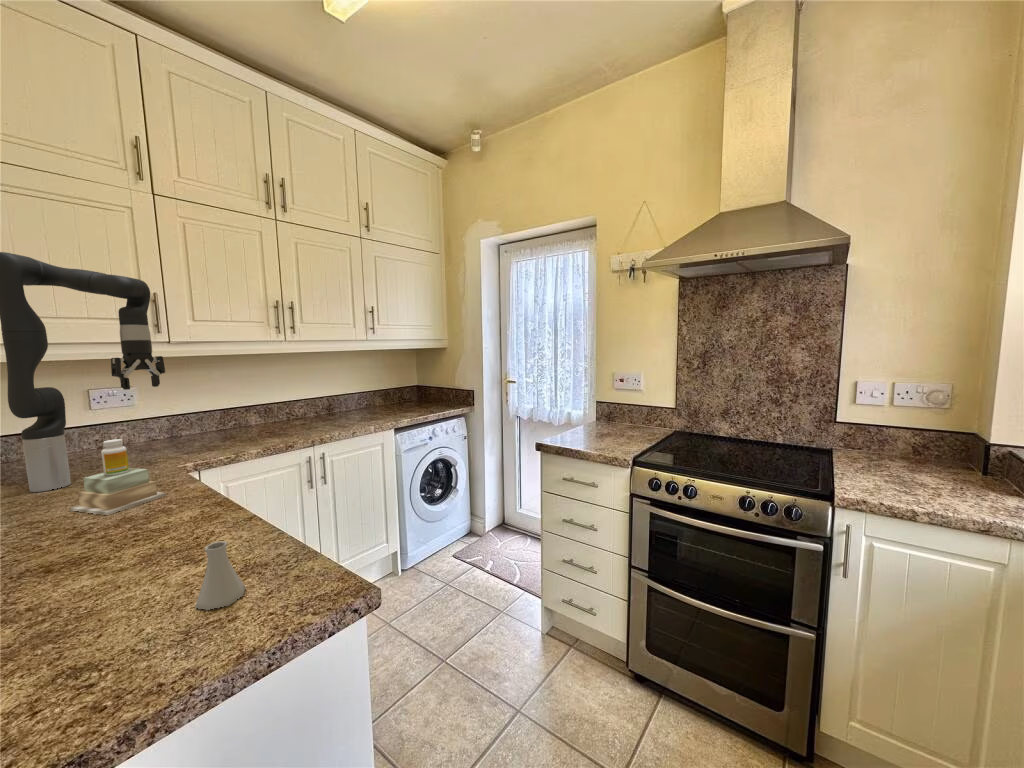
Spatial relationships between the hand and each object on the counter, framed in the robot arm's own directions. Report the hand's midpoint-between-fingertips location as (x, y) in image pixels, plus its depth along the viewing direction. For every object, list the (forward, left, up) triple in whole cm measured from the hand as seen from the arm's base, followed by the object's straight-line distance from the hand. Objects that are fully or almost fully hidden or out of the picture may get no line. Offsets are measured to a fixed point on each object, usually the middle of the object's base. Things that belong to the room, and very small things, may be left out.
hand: (141, 388), depth 138 cm
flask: (+87, -46, -32) cm, 104 cm away
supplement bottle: (+13, -17, -23) cm, 32 cm away
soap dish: (+13, -17, -32) cm, 39 cm away
